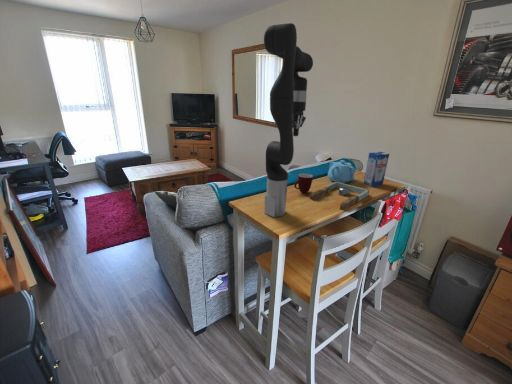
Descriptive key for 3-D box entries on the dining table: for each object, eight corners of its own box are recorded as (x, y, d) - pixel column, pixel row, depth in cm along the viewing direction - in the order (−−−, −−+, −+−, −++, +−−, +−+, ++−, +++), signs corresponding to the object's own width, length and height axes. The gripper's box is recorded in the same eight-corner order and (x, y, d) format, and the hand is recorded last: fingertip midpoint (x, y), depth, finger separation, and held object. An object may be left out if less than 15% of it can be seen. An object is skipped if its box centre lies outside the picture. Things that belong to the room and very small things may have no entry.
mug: (299, 196, 139) (301, 179, 135) (290, 191, 145) (291, 175, 142) (313, 193, 144) (315, 176, 140) (304, 188, 150) (306, 172, 147)
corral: (358, 201, 134) (359, 196, 133) (324, 191, 147) (324, 186, 146) (368, 195, 143) (369, 190, 142) (335, 186, 156) (335, 181, 155)
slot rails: (343, 210, 124) (344, 204, 122) (310, 199, 136) (310, 194, 135) (357, 201, 134) (358, 196, 133) (325, 191, 146) (325, 186, 145)
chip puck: (346, 197, 140) (347, 191, 138) (336, 194, 144) (337, 188, 142) (351, 194, 144) (352, 188, 143) (341, 191, 148) (342, 185, 146)
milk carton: (374, 182, 165) (380, 151, 157) (382, 185, 160) (389, 153, 152) (363, 183, 161) (369, 152, 154) (371, 187, 156) (377, 155, 148)
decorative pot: (327, 176, 175) (329, 156, 170) (351, 178, 171) (354, 158, 166) (327, 183, 160) (329, 162, 155) (354, 186, 157) (357, 164, 152)
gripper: (296, 101, 119) (294, 138, 125) (312, 100, 128) (308, 135, 134) (284, 100, 123) (282, 136, 130) (299, 100, 132) (297, 133, 139)
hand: (295, 135), depth 132 cm, fingers closed
